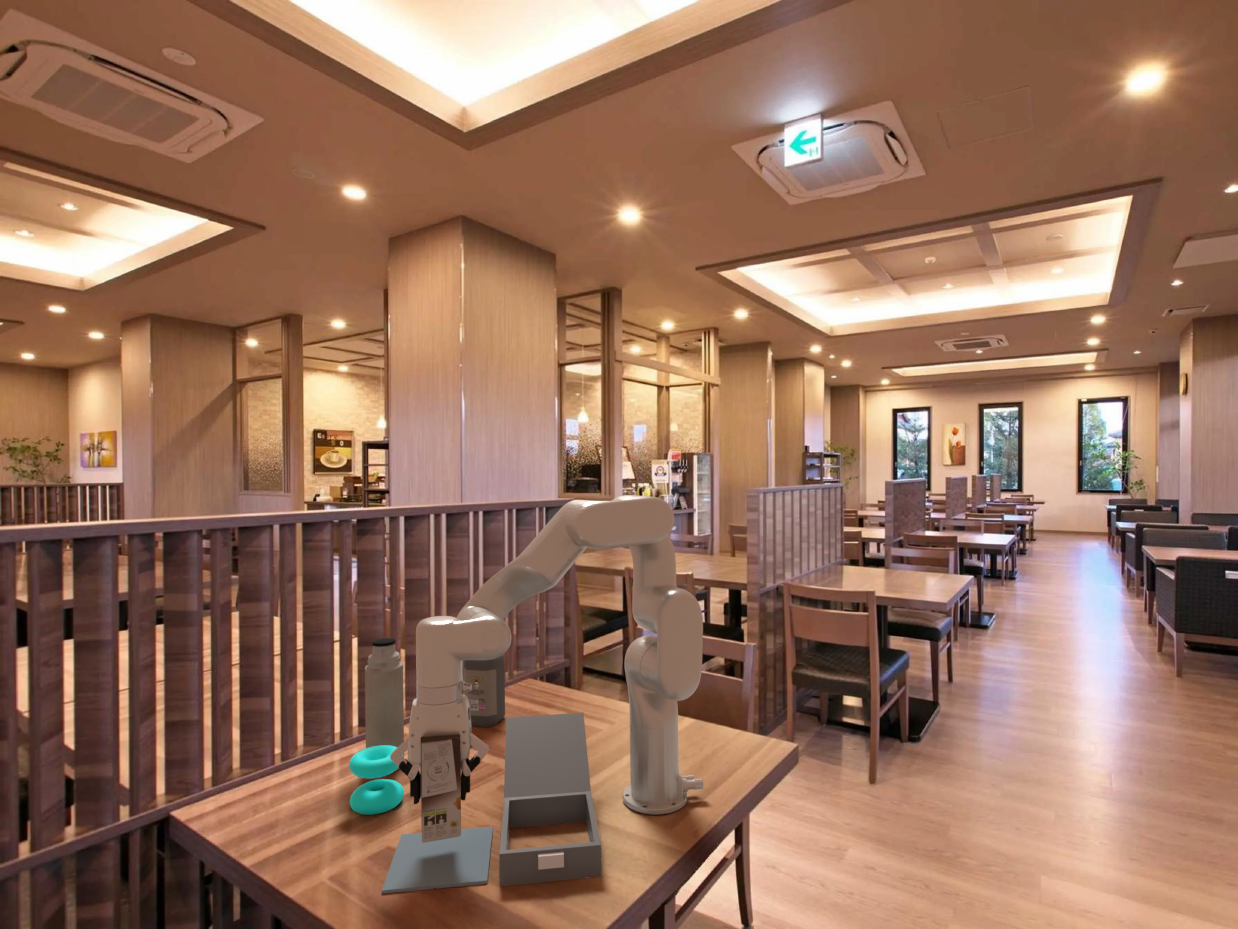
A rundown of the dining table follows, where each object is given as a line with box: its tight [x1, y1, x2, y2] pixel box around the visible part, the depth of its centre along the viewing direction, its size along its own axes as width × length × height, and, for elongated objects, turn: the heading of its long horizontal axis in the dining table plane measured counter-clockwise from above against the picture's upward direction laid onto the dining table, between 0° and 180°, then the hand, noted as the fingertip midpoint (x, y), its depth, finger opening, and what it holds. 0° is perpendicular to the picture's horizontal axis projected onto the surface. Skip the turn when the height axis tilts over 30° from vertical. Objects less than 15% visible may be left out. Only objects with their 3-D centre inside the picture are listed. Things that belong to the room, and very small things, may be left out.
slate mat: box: [381, 826, 494, 894], centre depth 111 cm, size 16×16×1 cm
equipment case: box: [498, 790, 603, 887], centre depth 113 cm, size 16×19×5 cm
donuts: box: [348, 745, 405, 816], centre depth 130 cm, size 10×10×10 cm
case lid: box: [503, 712, 592, 799], centre depth 131 cm, size 16×18×1 cm
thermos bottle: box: [364, 637, 405, 771], centre depth 147 cm, size 8×8×28 cm
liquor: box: [462, 654, 506, 728], centre depth 173 cm, size 9×9×30 cm
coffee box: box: [419, 735, 462, 843], centre depth 111 cm, size 9×6×16 cm
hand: (440, 797), depth 112 cm, fingers closed on coffee box, 7 cm apart
